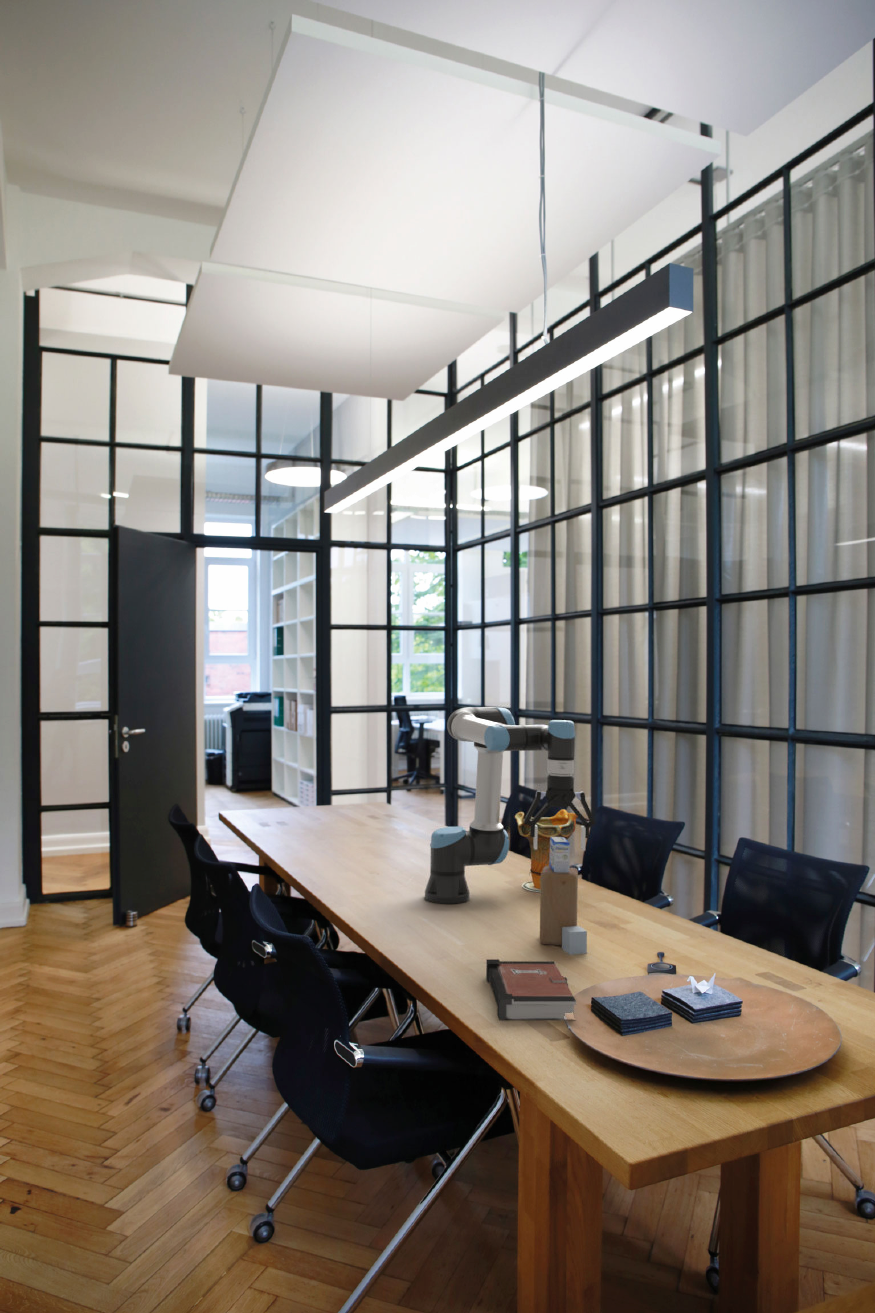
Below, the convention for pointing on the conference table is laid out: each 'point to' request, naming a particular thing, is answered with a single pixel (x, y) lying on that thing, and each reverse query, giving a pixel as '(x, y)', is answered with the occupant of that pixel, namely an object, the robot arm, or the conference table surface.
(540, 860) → the decorative vase
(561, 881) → the wooden block
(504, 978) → the book
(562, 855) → the medicine box
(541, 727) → the robot arm
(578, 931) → the slate block
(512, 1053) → the conference table surface
